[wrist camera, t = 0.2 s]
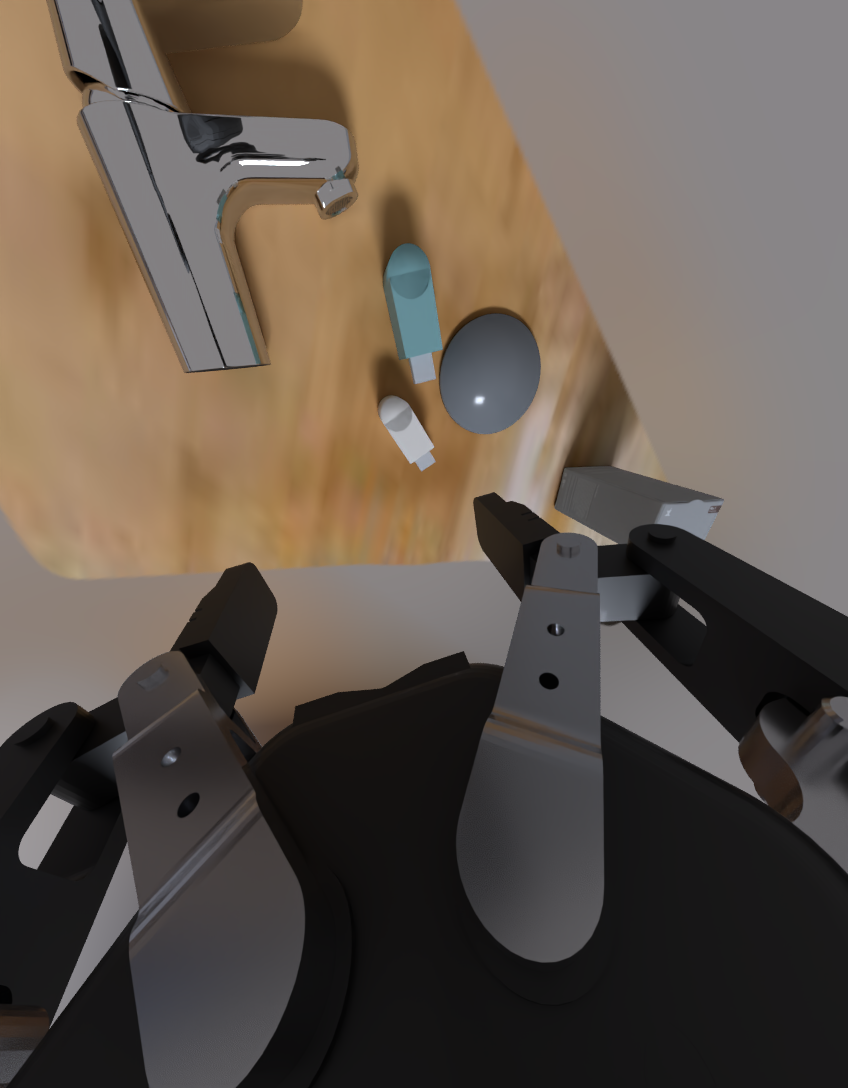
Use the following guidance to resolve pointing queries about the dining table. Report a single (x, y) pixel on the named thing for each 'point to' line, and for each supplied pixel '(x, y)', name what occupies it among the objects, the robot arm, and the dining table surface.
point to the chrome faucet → (193, 159)
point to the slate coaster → (489, 373)
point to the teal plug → (413, 309)
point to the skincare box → (632, 502)
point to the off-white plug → (406, 430)
